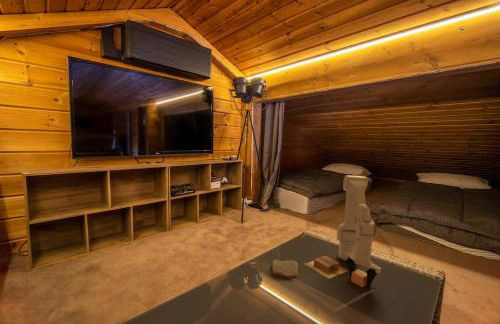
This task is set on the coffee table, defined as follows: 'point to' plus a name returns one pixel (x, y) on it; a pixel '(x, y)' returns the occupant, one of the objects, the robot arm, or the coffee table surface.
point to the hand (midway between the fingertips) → (360, 281)
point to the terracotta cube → (359, 278)
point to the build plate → (329, 275)
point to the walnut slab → (326, 264)
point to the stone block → (285, 268)
